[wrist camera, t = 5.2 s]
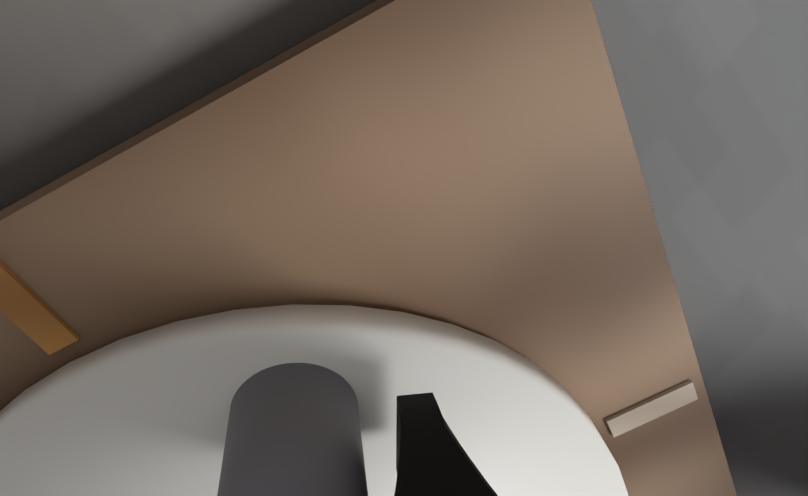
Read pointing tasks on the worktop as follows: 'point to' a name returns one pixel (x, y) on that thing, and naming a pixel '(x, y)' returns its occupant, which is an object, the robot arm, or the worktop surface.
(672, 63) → the worktop surface
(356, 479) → the dial
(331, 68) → the dial board
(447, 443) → the robot arm
